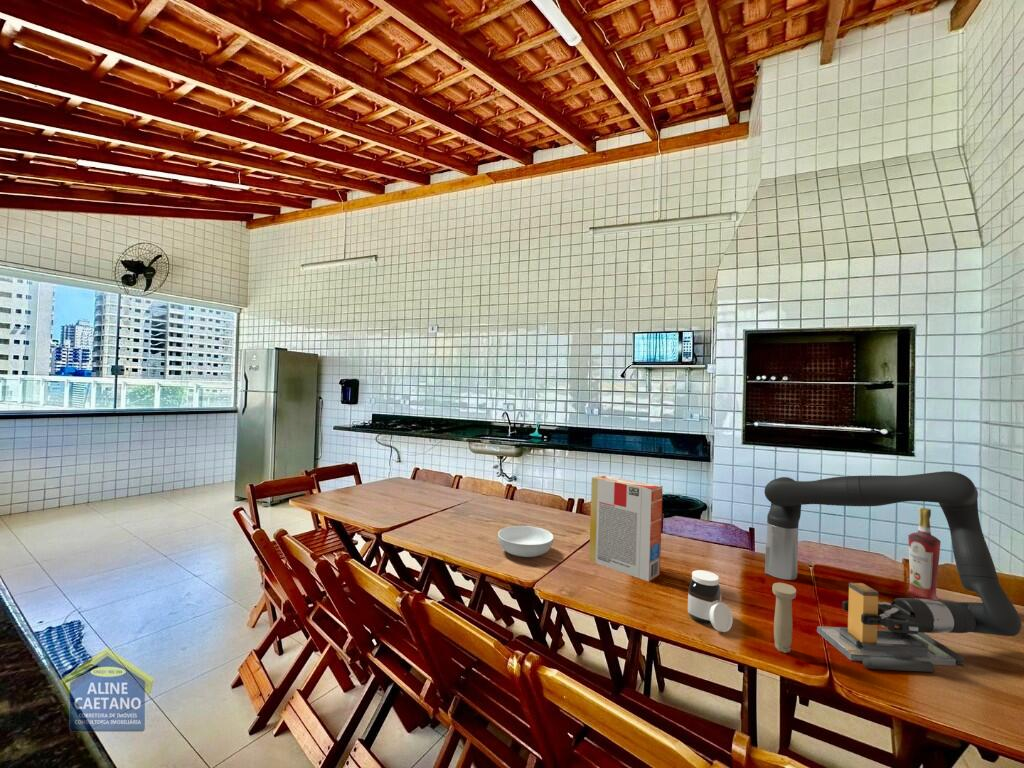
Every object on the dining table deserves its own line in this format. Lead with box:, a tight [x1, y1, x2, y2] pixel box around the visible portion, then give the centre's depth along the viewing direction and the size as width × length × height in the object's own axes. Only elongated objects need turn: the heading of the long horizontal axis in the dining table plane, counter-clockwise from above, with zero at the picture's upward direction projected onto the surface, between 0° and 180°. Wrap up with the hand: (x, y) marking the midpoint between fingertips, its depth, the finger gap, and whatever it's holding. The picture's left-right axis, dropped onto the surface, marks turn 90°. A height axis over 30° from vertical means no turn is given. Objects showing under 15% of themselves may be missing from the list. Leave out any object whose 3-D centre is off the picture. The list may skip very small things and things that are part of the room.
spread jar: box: [687, 569, 733, 633], centre depth 119 cm, size 12×11×12 cm
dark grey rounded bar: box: [917, 632, 965, 665], centre depth 108 cm, size 11×2×2 cm, turn 178°
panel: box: [816, 625, 957, 667], centre depth 109 cm, size 24×12×3 cm, turn 88°
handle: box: [771, 582, 797, 654], centre depth 107 cm, size 5×6×15 cm
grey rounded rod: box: [862, 659, 936, 673], centre depth 100 cm, size 15×2×2 cm, turn 88°
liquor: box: [907, 507, 941, 601], centre depth 136 cm, size 7×7×28 cm
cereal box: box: [588, 474, 663, 583], centre depth 153 cm, size 23×8×30 cm, turn 46°
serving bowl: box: [497, 525, 555, 558], centre depth 164 cm, size 21×21×7 cm
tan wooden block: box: [847, 582, 879, 643], centre depth 109 cm, size 4×5×13 cm
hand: (852, 612), depth 109 cm, fingers open, 5 cm apart
